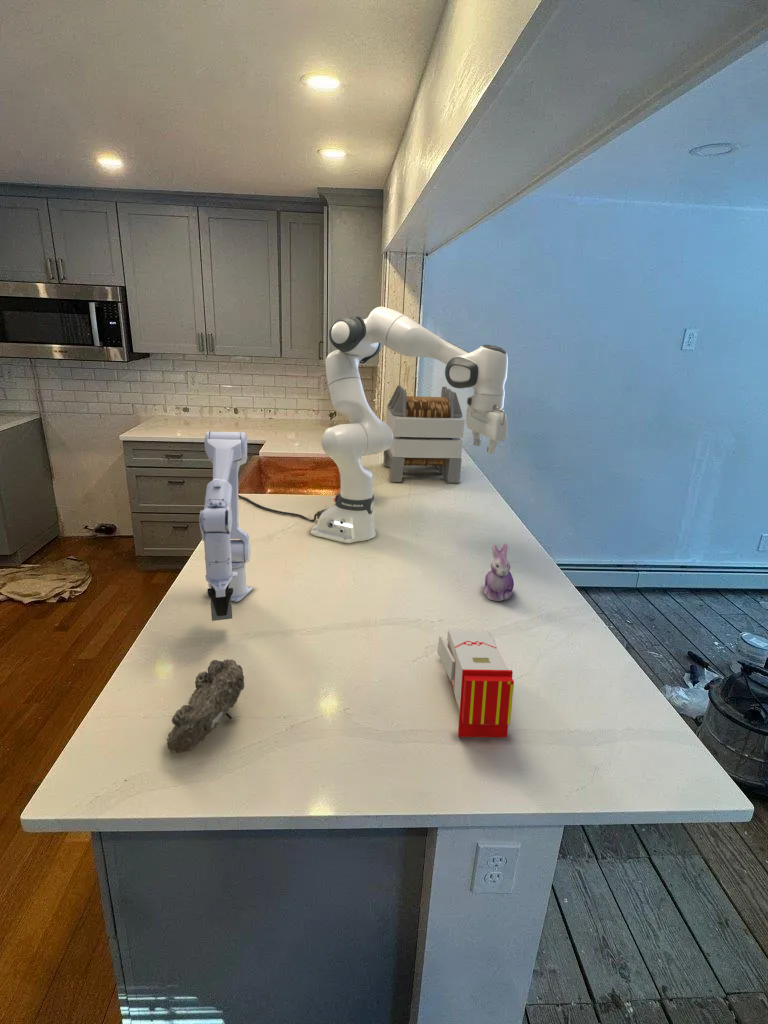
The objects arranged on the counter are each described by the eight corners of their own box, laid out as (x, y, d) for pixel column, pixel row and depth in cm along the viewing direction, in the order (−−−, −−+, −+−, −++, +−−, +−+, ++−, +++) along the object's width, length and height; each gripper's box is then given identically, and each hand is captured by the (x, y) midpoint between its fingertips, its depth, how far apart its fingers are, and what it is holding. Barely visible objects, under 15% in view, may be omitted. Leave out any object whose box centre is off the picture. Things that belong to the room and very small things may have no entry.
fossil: (192, 660, 117) (244, 628, 112) (224, 691, 120) (276, 661, 115) (142, 746, 98) (202, 712, 93) (182, 779, 101) (242, 748, 96)
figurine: (496, 605, 154) (502, 555, 148) (473, 589, 162) (479, 540, 157) (523, 599, 158) (530, 549, 153) (500, 583, 166) (506, 536, 161)
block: (232, 618, 133) (231, 602, 132) (211, 621, 132) (210, 604, 130) (231, 609, 137) (230, 593, 136) (211, 611, 136) (210, 595, 134)
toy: (488, 613, 130) (523, 677, 101) (484, 667, 133) (517, 744, 104) (435, 612, 130) (455, 676, 101) (432, 666, 133) (451, 743, 103)
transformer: (382, 463, 289) (386, 382, 275) (445, 464, 293) (451, 384, 279) (390, 482, 257) (394, 392, 243) (460, 483, 261) (468, 394, 247)
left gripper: (238, 569, 124) (240, 623, 129) (234, 543, 137) (237, 593, 142) (204, 572, 122) (208, 627, 127) (204, 545, 135) (207, 596, 140)
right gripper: (515, 409, 158) (509, 457, 162) (482, 397, 176) (478, 441, 181) (495, 409, 156) (489, 458, 161) (464, 397, 174) (460, 441, 179)
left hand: (221, 609), depth 134 cm, fingers closed on block, 4 cm apart
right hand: (483, 449), depth 171 cm, fingers open, 8 cm apart
